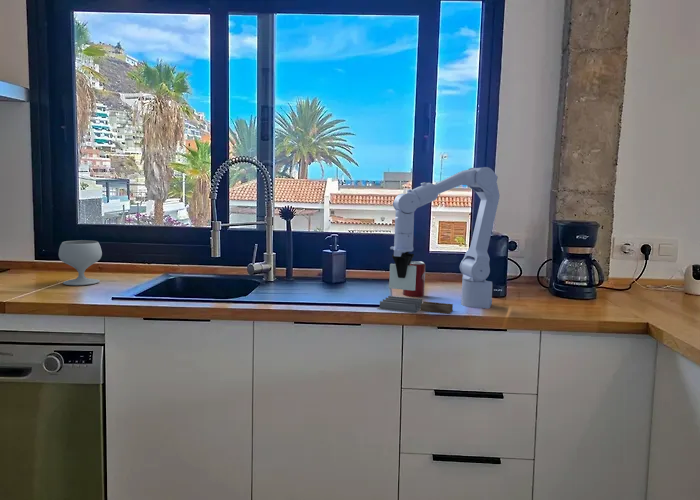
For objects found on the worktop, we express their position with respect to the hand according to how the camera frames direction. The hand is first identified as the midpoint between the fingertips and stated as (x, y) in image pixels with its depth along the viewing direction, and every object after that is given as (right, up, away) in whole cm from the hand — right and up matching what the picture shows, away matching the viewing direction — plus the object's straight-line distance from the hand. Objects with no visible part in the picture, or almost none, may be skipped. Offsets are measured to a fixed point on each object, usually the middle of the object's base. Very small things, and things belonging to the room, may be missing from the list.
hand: (402, 277), depth 167 cm
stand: (+10, -11, -3) cm, 15 cm away
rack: (0, -10, +1) cm, 10 cm away
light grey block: (0, -4, 0) cm, 4 cm away
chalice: (-113, -4, +30) cm, 117 cm away
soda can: (+6, -8, +20) cm, 22 cm away
